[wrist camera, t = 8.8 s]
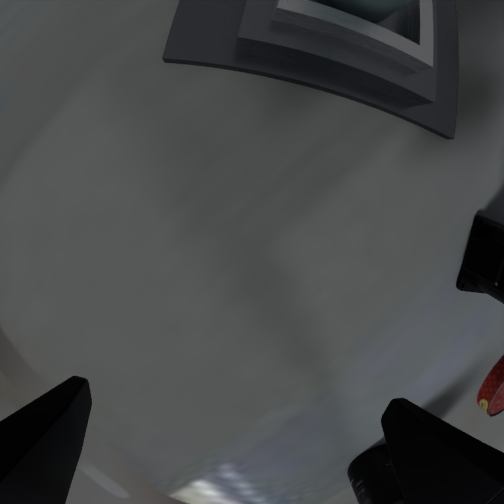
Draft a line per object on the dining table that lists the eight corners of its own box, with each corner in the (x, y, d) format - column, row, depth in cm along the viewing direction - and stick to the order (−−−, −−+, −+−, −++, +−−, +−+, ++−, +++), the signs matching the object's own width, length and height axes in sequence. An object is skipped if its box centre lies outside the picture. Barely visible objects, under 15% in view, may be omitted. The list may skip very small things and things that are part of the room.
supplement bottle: (401, 435, 27) (447, 509, 16) (392, 463, 29) (427, 529, 18) (347, 455, 27) (384, 539, 15) (343, 481, 29) (371, 554, 17)
